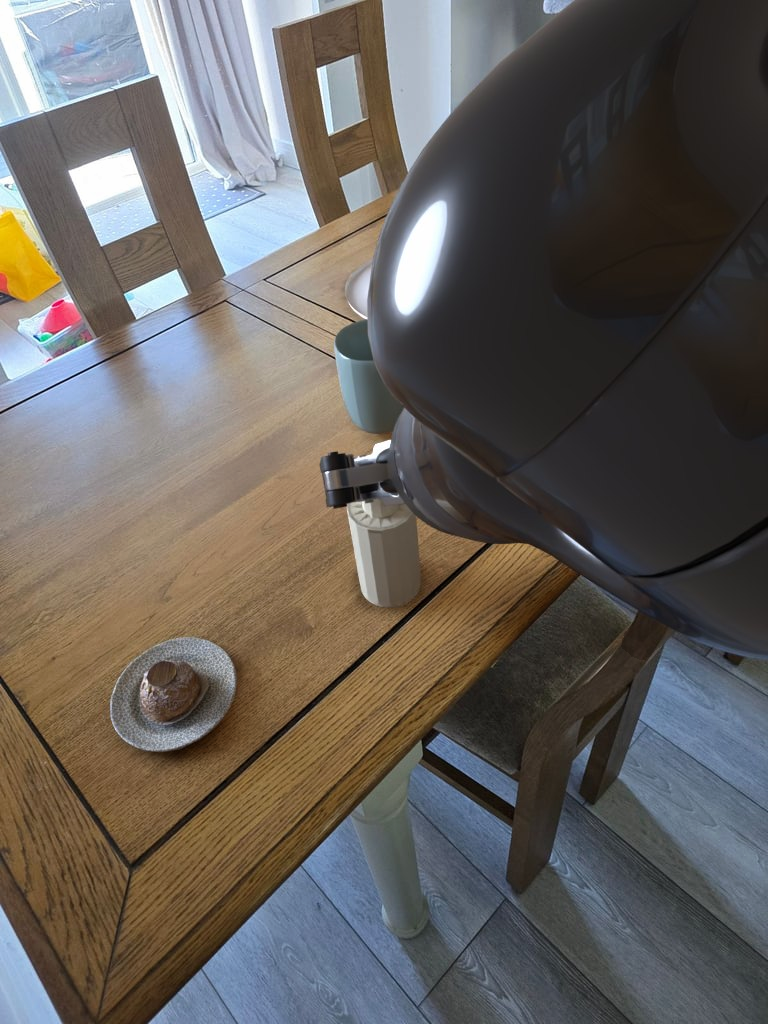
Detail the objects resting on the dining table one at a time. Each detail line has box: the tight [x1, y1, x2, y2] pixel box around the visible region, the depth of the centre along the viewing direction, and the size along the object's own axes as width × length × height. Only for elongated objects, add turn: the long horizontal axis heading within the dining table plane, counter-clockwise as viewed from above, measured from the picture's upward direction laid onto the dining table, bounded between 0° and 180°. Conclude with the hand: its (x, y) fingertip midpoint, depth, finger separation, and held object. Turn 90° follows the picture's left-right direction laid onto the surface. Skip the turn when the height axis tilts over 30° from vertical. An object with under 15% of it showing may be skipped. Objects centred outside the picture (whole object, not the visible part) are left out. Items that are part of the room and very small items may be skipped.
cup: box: [333, 318, 404, 435], centre depth 89 cm, size 10×10×13 cm
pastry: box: [110, 636, 238, 753], centre depth 65 cm, size 12×12×5 cm
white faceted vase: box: [346, 499, 422, 609], centre depth 68 cm, size 6×6×16 cm
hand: (437, 470), depth 44 cm, fingers open, 8 cm apart
